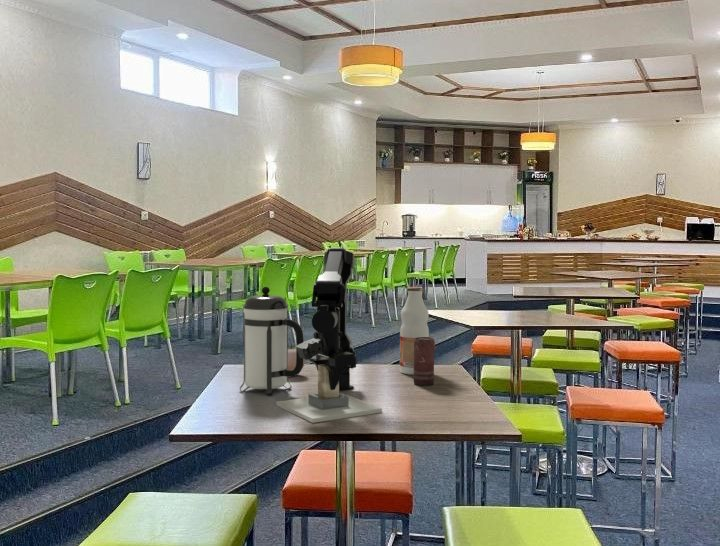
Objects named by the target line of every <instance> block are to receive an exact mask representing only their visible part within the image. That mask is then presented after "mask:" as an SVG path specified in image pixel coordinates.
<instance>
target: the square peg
mask: <svg viewBox="0 0 720 546" xmlns="http://www.w3.org/2000/svg"><path fill="white" fill-rule="evenodd" d="M317 393H318V397H321V398H323V399H327V398H334V397H339V393H340V390H339V382H338V384H337V386H336V388H335V390H331V389H330V382H329V372H328V369H327V368H326V367H325V366H324V364H320V365H318V370H317Z"/></svg>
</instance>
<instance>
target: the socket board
mask: <svg viewBox="0 0 720 546" xmlns="http://www.w3.org/2000/svg"><path fill="white" fill-rule="evenodd" d="M339 393H340V392H339ZM340 394H343V395H346V396H348V397H349V406H347V407H340V408H333V409H326V410H322V409H319V408H317V407H315V406H312V405H310V404H308V397H301V398H295V399H287V400H281V401H279V400H278V401H276V407H278V408H281V409H283V410H285V411H287V412H289V413H291V414H293V415H295V416H297V417H300V418H301V419H303V420H305V421H307V422H310V423H312V424H315V423H319V422H321V423H322V422H326V421H333V420H334V421H335V420H340V419H347V418H352V417H353V418H354V417H360V416H361V417H362V416H367V415H373V414H378V413H379V414H380V413H383V408H382V407H379V406H378V405H374V404H371V403H369V402H367V401H363V400H361V399H358V398H356V397H353V396H350V395H349V394H346V393H343V392H341V393H340Z"/></svg>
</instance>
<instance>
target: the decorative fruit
mask: <svg viewBox="0 0 720 546" xmlns="http://www.w3.org/2000/svg"><path fill="white" fill-rule="evenodd" d="M306 361H307V360H305V359H304V358H303V367H302V369H304V366H305V365H306ZM295 367H296V346H295V347H293V344H290V347H288V370H291V371H292V370H294V369H295Z"/></svg>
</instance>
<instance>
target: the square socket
mask: <svg viewBox="0 0 720 546" xmlns="http://www.w3.org/2000/svg"><path fill="white" fill-rule="evenodd" d="M343 394H344V393H343ZM343 394H340V392H339V397H334V398H327V399H323V398H321V397H318V392H315V393H308V396H307V398H308V404H310V405H312V406H315V407H317V408H319V409H322V410H326V409H333V408H340V407H347V406H349V397H348V396H349V395H348V396H346V395H347V394H346V395H343Z"/></svg>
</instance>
